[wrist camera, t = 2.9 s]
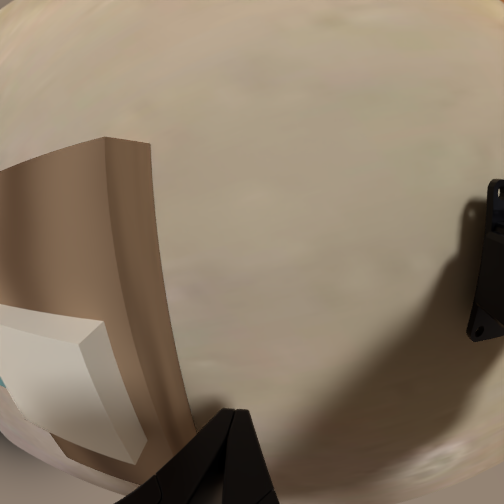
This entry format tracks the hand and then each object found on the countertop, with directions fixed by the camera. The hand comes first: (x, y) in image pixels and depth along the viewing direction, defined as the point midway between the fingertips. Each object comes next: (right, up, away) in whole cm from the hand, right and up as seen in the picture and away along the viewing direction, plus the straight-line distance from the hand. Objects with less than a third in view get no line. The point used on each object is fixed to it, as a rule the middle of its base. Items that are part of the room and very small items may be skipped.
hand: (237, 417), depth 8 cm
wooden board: (-7, +1, +4) cm, 8 cm away
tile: (-8, 0, +1) cm, 8 cm away
